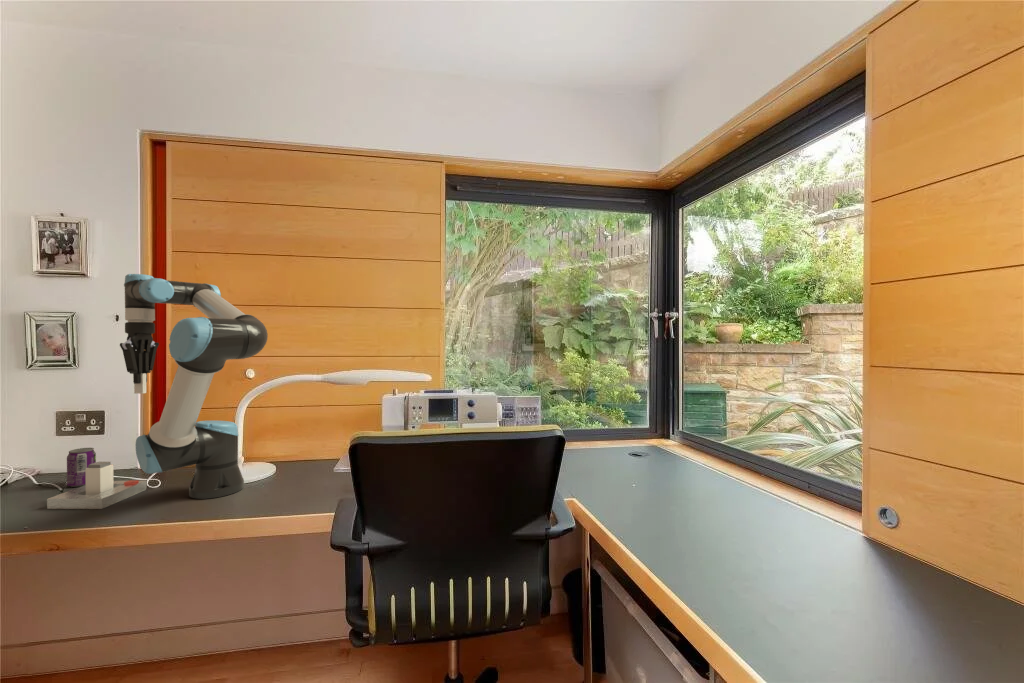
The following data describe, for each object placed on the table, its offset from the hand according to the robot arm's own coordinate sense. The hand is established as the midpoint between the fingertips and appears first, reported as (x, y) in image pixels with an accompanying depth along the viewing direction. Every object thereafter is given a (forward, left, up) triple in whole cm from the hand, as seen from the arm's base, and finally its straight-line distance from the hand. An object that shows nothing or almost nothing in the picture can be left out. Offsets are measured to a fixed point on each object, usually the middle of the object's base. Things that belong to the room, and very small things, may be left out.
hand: (140, 393), depth 144 cm
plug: (+7, +7, -32) cm, 34 cm away
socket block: (+7, +7, -32) cm, 34 cm away
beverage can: (+25, -6, -33) cm, 42 cm away
